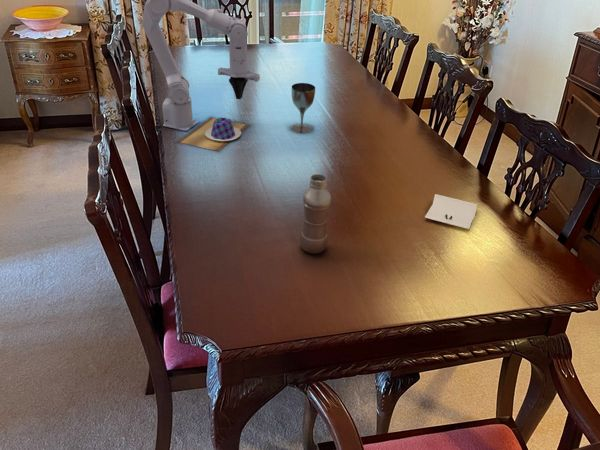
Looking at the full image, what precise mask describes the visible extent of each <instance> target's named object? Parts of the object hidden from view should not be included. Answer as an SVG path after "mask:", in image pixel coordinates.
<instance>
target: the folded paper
mask: <svg viewBox="0 0 600 450" xmlns="http://www.w3.org/2000/svg"><path fill="white" fill-rule="evenodd" d="M477 207H478V203H474V202H470V201H465V200H461V199H458V198H454V197H450V196H445V195H441V194H437V193H434V196H433V201H432V204H431V206H430V208H429V210H428V211H427V213H426V214H425V215H424V218H425V219H429V220H433V221H436V222H439V223H440V222H441V223H444V224H447V225H452V226H455V227H460V228H464V229H466V230H470V228H471V225H472V222H473V220H474V218H475V217H476V212H477Z"/></svg>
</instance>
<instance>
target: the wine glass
mask: <svg viewBox="0 0 600 450" xmlns="http://www.w3.org/2000/svg"><path fill="white" fill-rule="evenodd" d="M315 96H316V86H315V85H314V84H312V83H307V82H298V83H294V84H292V85H291V100H292V104H293V105H294V107H296V109H297V110H298V112H299V115H300V123H298V124H293V125H292V126H291V128H290V129H291V131H293V132H295V133H298V134H306V133H310V132H311V131H312V129H313V128H312V127H311V126H310V125H307V124H304V116H305V114H306V111H307V110H308V109H309V108H310V107H312V105H313V103H314V100H315Z"/></svg>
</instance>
